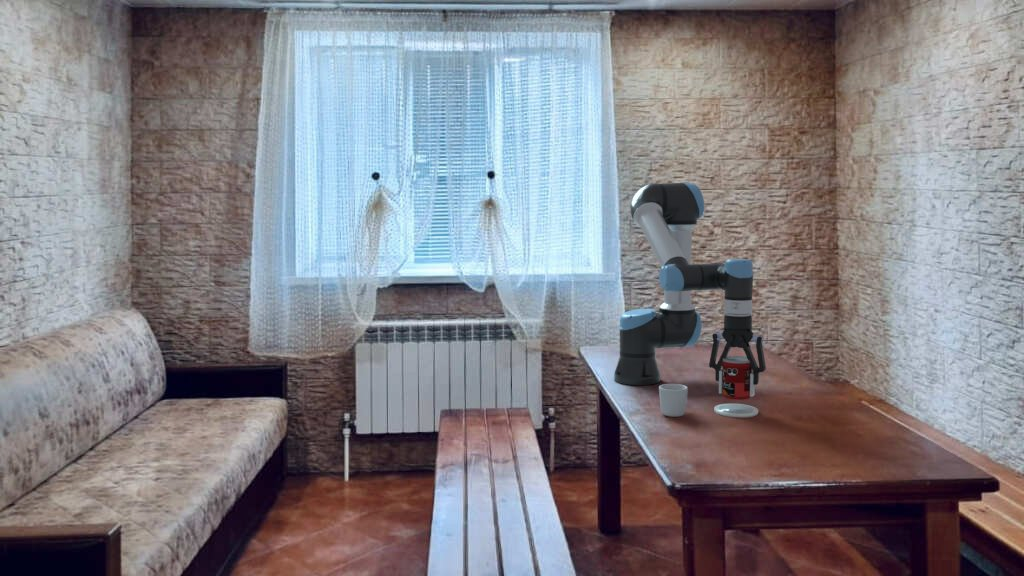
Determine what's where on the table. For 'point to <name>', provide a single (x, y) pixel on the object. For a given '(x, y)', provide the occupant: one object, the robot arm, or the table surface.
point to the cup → (673, 399)
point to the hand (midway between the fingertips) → (736, 394)
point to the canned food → (736, 377)
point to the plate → (736, 410)
